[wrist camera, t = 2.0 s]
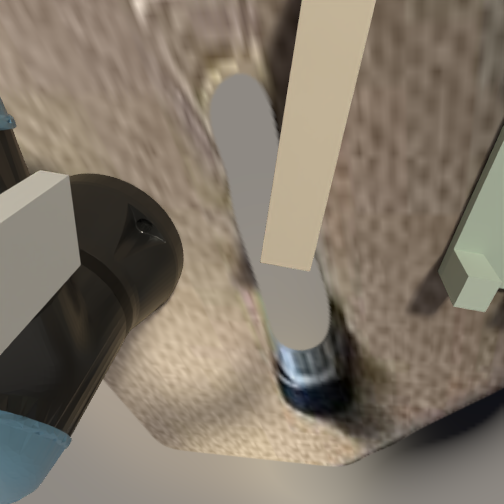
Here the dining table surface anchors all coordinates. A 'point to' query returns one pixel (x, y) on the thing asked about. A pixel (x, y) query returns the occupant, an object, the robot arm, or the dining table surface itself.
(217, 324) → the dining table surface
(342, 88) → the clay slat
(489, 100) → the dining table surface
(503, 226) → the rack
